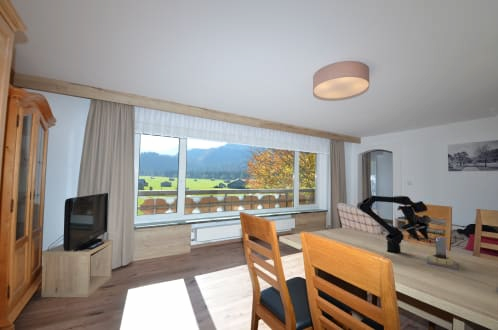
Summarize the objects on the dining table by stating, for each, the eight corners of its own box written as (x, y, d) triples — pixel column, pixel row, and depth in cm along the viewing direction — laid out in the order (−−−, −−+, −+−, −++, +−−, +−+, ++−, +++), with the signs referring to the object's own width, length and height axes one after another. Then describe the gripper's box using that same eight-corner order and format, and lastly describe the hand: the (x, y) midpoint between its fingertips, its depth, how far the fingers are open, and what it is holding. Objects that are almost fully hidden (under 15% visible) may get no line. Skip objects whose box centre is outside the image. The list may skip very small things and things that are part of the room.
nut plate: (427, 263, 119) (427, 257, 120) (427, 257, 128) (427, 251, 129) (457, 269, 112) (457, 262, 112) (455, 263, 121) (455, 256, 121)
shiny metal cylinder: (436, 261, 120) (435, 237, 121) (435, 259, 123) (435, 236, 124) (446, 263, 117) (446, 239, 118) (446, 261, 120) (445, 237, 121)
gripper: (412, 210, 128) (427, 237, 120) (430, 210, 136) (446, 235, 128) (396, 216, 137) (409, 242, 129) (413, 216, 144) (427, 240, 136)
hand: (423, 239), depth 130 cm, fingers open, 9 cm apart
